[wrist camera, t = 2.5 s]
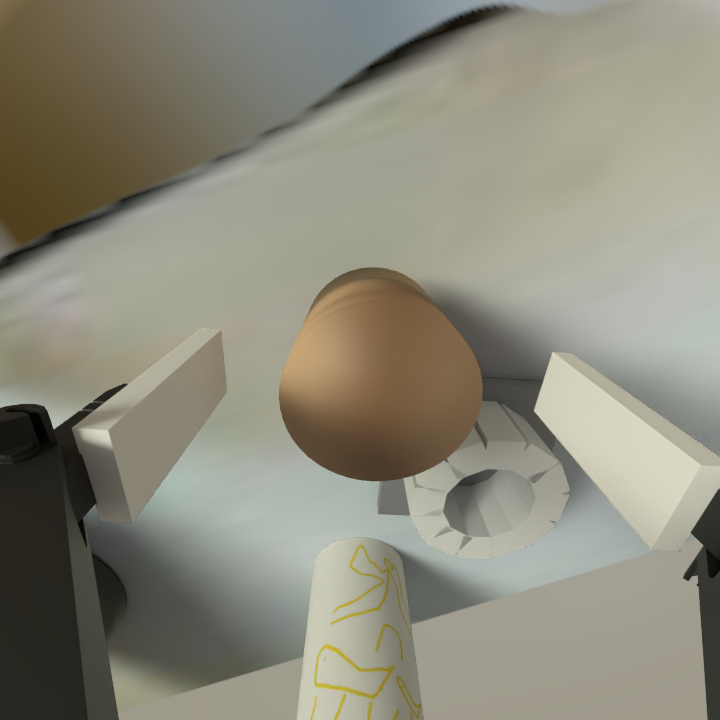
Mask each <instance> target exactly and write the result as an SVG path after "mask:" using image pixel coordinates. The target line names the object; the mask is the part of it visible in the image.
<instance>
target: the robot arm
mask: <svg viewBox="0 0 720 720" xmlns="http://www.w3.org/2000/svg"><path fill="white" fill-rule="evenodd" d="M226 392H227V386H226V376H225V365H224V355H223V344H222V334H221V329H207V328H201V329H199V330H198V331H197V332H196V333H194V334H193V335H192V336H190V337H189V338H188V339H186V340H185V341H184V342H183V343H181V344H180V345H179V346H177V347H176V348H175V349H173V350H172V351H171V352H170V353H168V354H167V355H166V356H164V357H163V358H162V359H161V360H159V361H158V362H157V363H155V364H154V365H153V366H151V367H150V368H149V369H148V370H146V371H145V372H144V373H142V374H141V375H140V376H139V377H137V378H136V379H135V380H133V381H132V382H131V383H129V384H122V385H120V386H118V387H115V388H113V389H111V390H108V391H106V392H105V393H103V394H102V395H101V396H99V397H98V398H96V399H95V400H94V401H93V403H90V404H88V405H87V406H86V407H84V408H83V409H82V411H79V412H77V413H76V414H75V415H73V416H72V417H71V418H69V419H68V420H66V421H65V422H64V423H62V424H61V425H60V426H58V427H57V428H56V429H53V426H52V423H51V420H50V417H49V414H48V412H47V410H46V409H45V407H44V406H40V405H37V404H19V405H12V406H6V407H2V408H0V720H119V718H118V712H117V706H116V700H115V694H114V688H113V681H112V675H111V669H110V663H109V657H108V651H107V645H106V642H107V641H108V640H109V638H110V637H111V635H112V633H113V631H114V630H115V628H116V626H117V624H118V623H119V621H120V619H121V617H122V615H123V613H124V611H125V607H126V598H125V593H124V590H123V588H122V586H121V584H120V582H119V580H118V579H117V578H116V576H115V575H114V574H113V573H112V572H111V571H110V570H109V568H107V567H106V566H105V565H104V564H103V563H102V562H100V561H99V560H98V559H96V558H95V557H94V556H92V554H91V548H90V542H89V536H88V530H87V525H86V523H85V520H84V516H85V515H86V514H87V513H88V511H89V510H90V509H91V508H92V507H93V506H94V505H95V504H96V507H97V510H98V513H99V516H100V519H101V521H103V522H122V523H133V522H134V521H135V519H136V518H137V517H138V515H139V514H140V512H141V511H142V510H143V508H144V507H145V505H146V504H147V503H148V501H149V500H150V498H151V497H152V496H153V494H154V493H155V491H156V490H157V489H158V487H159V486H160V484H161V483H162V482H163V480H164V479H165V477H166V476H167V475H168V473H169V472H170V470H171V469H172V468H173V466H174V465H175V463H176V462H177V461H178V459H179V458H180V456H181V455H182V454H183V452H184V451H185V449H186V448H187V447H188V445H189V444H190V442H191V441H192V440H193V438H194V437H195V435H196V434H197V433H198V431H199V430H200V429H201V427H202V426H203V424H204V423H205V422H206V420H207V419H208V417H209V416H210V415H211V413H212V412H213V410H214V409H215V408H216V406H217V405H218V403H219V402H220V401H221V399H222V398H223V396H224V395H225V394H226ZM534 412H535V413H536V414H537V415H538V416H539V418H540V419H541V420H542V421H543V422H544V424H545V425H546V426H547V427H548V428H549V429H550V431H551V432H552V433H553V434H554V435H555V437H556V438H557V439H558V440H559V441H560V442H561V444H562V445H563V446H564V447H565V448H566V450H567V451H568V452H569V453H570V454H571V456H572V457H573V458H574V459H575V460H576V461H577V463H578V464H579V465H580V466H581V467H582V469H583V470H584V471H585V472H586V473H587V474H588V476H589V477H590V478H591V479H592V480H593V482H594V483H595V484H596V485H597V486H598V488H599V489H600V490H601V491H602V492H603V493H604V495H605V496H606V497H607V498H608V499H609V501H610V502H611V503H612V504H613V505H614V506H615V508H616V509H617V510H618V511H619V512H620V514H621V515H622V516H623V517H624V518H625V520H626V521H627V522H628V523H629V524H630V525H631V527H632V528H633V529H634V530H635V531H636V533H637V534H638V535H639V536H640V537H641V538H642V540H643V541H644V542H645V543H646V544H647V546H648V547H649V548H650V549H651V550H663V551H681V549H682V547H683V546H684V544H685V543H686V541H687V540H688V538H689V537H690V535H691V534H693V535H694V536H695V537H696V538H697V539H698V540H699V541H700V542H701V543H702V544H703V545H704V546H703V547H702V549H701V550H700V552H699V553H698V555H697V556H696V558H695V559H694V561H693V562H692V564H691V565H690V566H689V568H688V569H687V571H686V572H685V574H684V577H683V578H684V579H685V580H687V581H689V580H690V578H691V577H692V576H696V575H698V584H697V586H699V599H700V613H701V628H702V642H703V657H704V672H705V685H706V686H705V687H706V701H707V715H708V720H720V457H719V456H717V455H716V454H715V453H713V452H712V451H710V450H709V449H707V448H706V447H705V446H703V445H702V444H700V443H699V442H697V441H696V440H695V439H693V438H692V437H690V436H689V435H687V434H686V433H685V432H683V431H682V430H680V429H679V428H677V427H676V426H675V425H673V424H672V423H670V422H669V421H667V420H666V419H665V418H663V417H662V416H660V415H659V414H658V413H656V412H655V411H653V410H652V409H650V408H649V407H648V406H646V405H645V404H643V403H642V402H640V401H639V400H638V399H636V398H635V397H633V396H632V395H630V394H629V393H628V392H626V391H625V390H623V389H622V388H620V387H619V386H618V385H616V384H615V383H613V382H612V381H610V380H609V379H608V378H606V377H605V376H603V375H602V374H600V373H599V372H598V371H596V370H595V369H593V368H592V367H590V366H589V365H588V364H586V363H585V362H583V361H582V360H580V359H579V358H578V357H576V356H575V355H573V354H572V353H561V352H552V356H551V359H550V362H549V365H548V368H547V371H546V374H545V377H544V380H543V384H542V387H541V390H540V393H539V396H538V399H537V402H536V405H535V409H534Z"/></svg>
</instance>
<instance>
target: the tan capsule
mask: <svg viewBox="0 0 720 720" xmlns="http://www.w3.org/2000/svg"><path fill="white" fill-rule="evenodd" d="M482 395H483V384H482V376H481V371H480V368H479V365H478V361H477V359H476V357H475V355H474V353H473V351H472V349H471V348H470V346H469V345H468V343H467V342H466V340H465V339H464V338H463V337H462V336H461V334H460V333H459V332H458V331H457V330H456V328H455V327H454V326H453V325H452V324H451V322H450V321H449V320H448V319H447V318H446V316H445V315H444V314H443V313H442V312H441V310H440V309H439V308H438V307H437V306H436V304H435V303H434V302H433V301H432V300H431V298H430V297H429V296H428V295H427V294H426V292H425V291H424V290H423V289H422V288H421V287H420V286H419V285H418V284H417V283H416V282H414V281H413V280H412V279H410V278H409V277H407V276H405V275H403V274H401V273H399V272H397V271H393V270H390V269H385V268H361V269H357V270H353V271H350V272H347V273H345V274H342V275H341V276H339V277H337V278H335V279H334V280H333V281H331V282H330V283H329V284H327V285H326V286H325V287H324V288H323V289H322V290H321V292H320V293H319V294H318V296H317V297H316V298H315V300H314V302H313V304H312V306H311V308H310V310H309V312H308V314H307V317H306V319H305V321H304V323H303V326H302V328H301V330H300V332H299V335H298V337H297V339H296V341H295V344H294V346H293V348H292V350H291V353H290V355H289V357H288V359H287V362H286V364H285V367H284V370H283V372H282V377H281V382H280V390H279V401H280V409H281V413H282V417H283V421H284V423H285V425H286V428H287V430H288V432H289V434H290V435H291V437H292V439H293V440H294V442H295V443H296V444H297V445H298V447H299V448H300V449H301V450H302V451H303V452H304V453H305V454H306V455H307V456H308V457H309V458H311V459H312V460H313V461H315V462H316V463H317V464H319V465H321V466H322V467H324V468H326V469H328V470H330V471H332V472H334V473H337V474H339V475H342V476H345V477H349V478H353V479H358V480H365V481H390V480H398V479H403V478H407V477H411V476H414V475H417V474H420V473H422V472H424V471H426V470H429V469H431V468H432V467H434V466H436V465H438V464H439V463H441V462H442V461H444V460H445V459H446V458H448V457H449V456H450V455H451V454H452V453H454V452H455V451H456V450H457V449H458V448H459V447H460V445H461V444H462V443H463V442H464V441H465V440H466V438H467V437H468V435H469V434H470V432H471V430H472V429H473V427H474V424H475V422H476V420H477V418H478V415H479V411H480V408H481V403H482Z"/></svg>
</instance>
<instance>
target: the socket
mask: <svg viewBox="0 0 720 720" xmlns="http://www.w3.org/2000/svg"><path fill="white" fill-rule="evenodd" d="M482 384H483V395H482V403H481V408H480V411H479V415H478V418H477V420H476V422H475V424H474V427H473V429H472V430H471V432H470V434H469V435H468V437H467V438H466V440H465V441H464V442H463V443H462V444H461V445H460V447H459V448H458V449H457V450H456V451H455V452H454V453H452V454H451V455H450V456H449V457H448V458H446V459H445V460H444V461H442V462H441V463H439V464H438V465H436V466H434V467H432V468H431V469H429V470H426V471H424V472H422V473H420V474H417V475H414V476H411V477H407V478H403V479H398V480H390V481H380V488H379V496H378V514H390V515H410V517H411V520H412V522H413V524H414V525H415V527H416V529H417V530H418V532H419V534H420V536H421V537H422V539H423V541H425V540H426V542H427V544H428V545H430V546H432V547H434V548H436V549H438V550H440V551H442V552H445V553H447V554H449V555H451V556H454V555H455V554H456V555H457V558H481V559H490V556H491V553H492V554H493V556H494V558H497V557H500V556H503V555H506V554H509V553H512V552H515V551H518V550H521V549H524V548H527V547H526V545H525V542H526V543H528V544H530V545H532V544H533V543H535V542H536V541H537V540H538V539H540V538H541V537H542V536H543V535H544V534H546V533H547V532H548V531H549V530H551V529H552V528H553V527H554V526H555V525H556V524H555V522H554V521H559V520H560V518H561V515H562V513H563V510H564V508H565V506H566V503H567V501H568V498H569V496H570V494H569V493H568V491H570V489H569V485H568V482H567V479H566V476H565V473H564V470H563V466H562V464H561V463H560V462H559V460H558V459H557V458H556V457H555V455H554V454H553V453H552V452H551V449H552V446H553V444H554V441H555V438H556V437H555V435H554V434H553V433H552V432H551V431H550V429H549V428H548V427H547V426H546V425H545V424H544V422H543V421H542V420H541V419H540V418H539V416H538V415H537V414H536V413H535V412H534V409H535V405H536V402H537V399H538V396H539V393H540V390H541V387H542V384H543V381H529V380H512V379H495V378H482Z"/></svg>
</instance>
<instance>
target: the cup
mask: <svg viewBox="0 0 720 720" xmlns="http://www.w3.org/2000/svg"><path fill="white" fill-rule="evenodd" d="M296 720H424V717H423V710H422V702H421V695H420V689H419V680H418V673H417V666H416V658H415V651H414V643H413V636H412V628H411V621H410V613H409V606H408V598H407V591H406V584H405V576H404V569H403V562H402V559H401V557H400V555H399V554H398V553H397V551H396V550H395V549H393V548H392V547H391V546H389V545H388V544H386V543H384V542H381V541H379V540H375V539H371V538H363V537H356V538H347V539H343V540H340V541H337V542H334V543H332V544H330V545H329V546H327V547H326V548H324V549H323V550H322V551H321V552H320V553H319V555H318V556H317V558H316V560H315V563H314V570H313V578H312V587H311V596H310V605H309V613H308V622H307V631H306V640H305V648H304V657H303V667H302V675H301V683H300V692H299V701H298V710H297V719H296Z"/></svg>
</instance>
